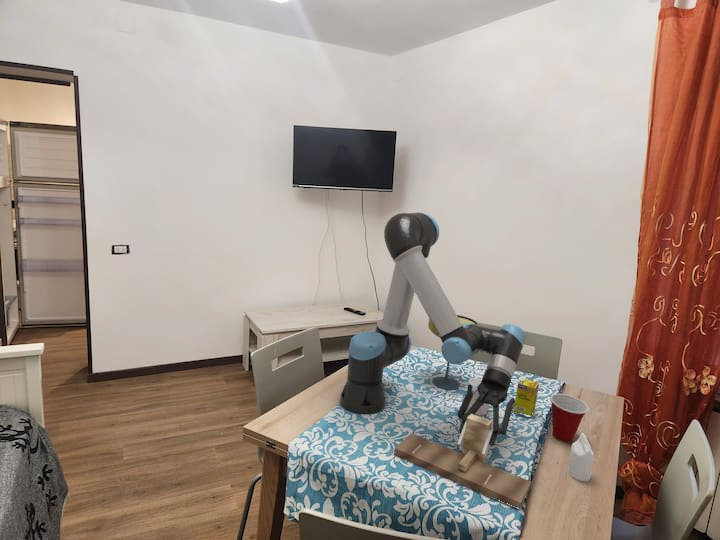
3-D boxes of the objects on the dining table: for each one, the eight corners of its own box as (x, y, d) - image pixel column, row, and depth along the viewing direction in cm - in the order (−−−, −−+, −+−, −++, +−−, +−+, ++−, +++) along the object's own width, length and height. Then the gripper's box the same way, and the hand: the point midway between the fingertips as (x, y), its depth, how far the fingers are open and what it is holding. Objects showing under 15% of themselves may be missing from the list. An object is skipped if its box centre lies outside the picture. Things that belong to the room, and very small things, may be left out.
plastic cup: (566, 450, 134) (573, 412, 132) (537, 431, 143) (542, 396, 141) (590, 443, 139) (597, 406, 137) (560, 425, 148) (566, 391, 146)
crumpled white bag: (601, 441, 117) (579, 439, 117) (593, 483, 119) (571, 480, 120) (592, 429, 123) (570, 426, 123) (584, 469, 125) (563, 466, 126)
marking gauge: (450, 471, 118) (455, 429, 116) (465, 453, 127) (470, 413, 125) (472, 481, 115) (478, 438, 113) (486, 461, 124) (492, 421, 122)
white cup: (489, 418, 149) (493, 390, 147) (465, 414, 151) (469, 386, 149) (488, 407, 157) (492, 380, 155) (464, 403, 158) (468, 376, 156)
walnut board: (393, 454, 125) (394, 447, 125) (410, 439, 133) (411, 432, 133) (519, 510, 107) (520, 502, 106) (530, 488, 115) (531, 481, 114)
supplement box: (531, 419, 151) (536, 388, 149) (512, 413, 154) (517, 383, 152) (534, 412, 156) (539, 382, 154) (517, 406, 159) (521, 377, 157)
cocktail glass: (461, 398, 162) (470, 331, 157) (414, 384, 170) (421, 320, 165) (475, 381, 177) (483, 320, 173) (431, 369, 186) (438, 310, 181)
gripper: (533, 389, 129) (508, 469, 119) (469, 370, 139) (441, 441, 129) (531, 378, 123) (505, 460, 113) (465, 359, 134) (435, 432, 123)
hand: (471, 450), depth 121 cm, fingers closed on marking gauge, 6 cm apart
